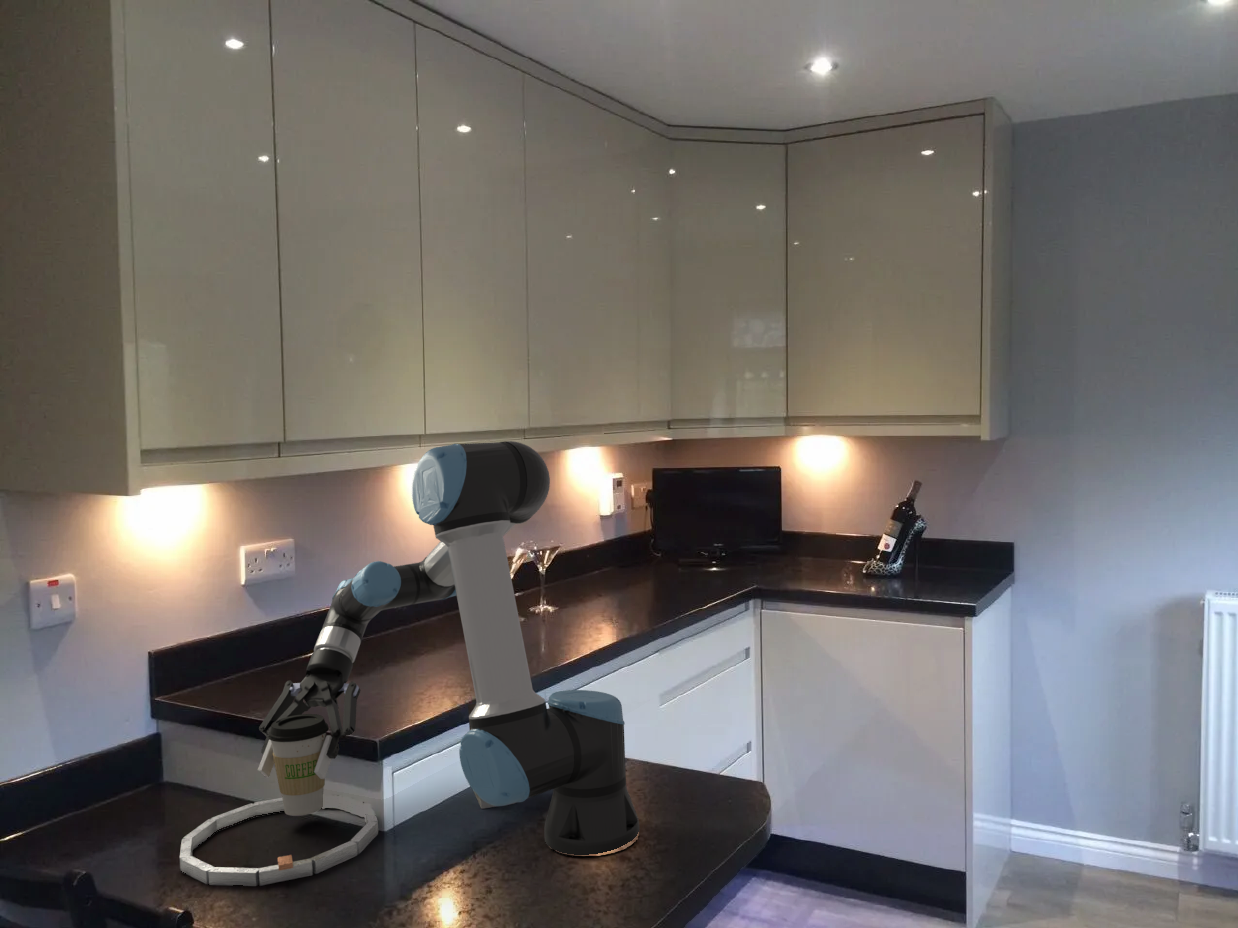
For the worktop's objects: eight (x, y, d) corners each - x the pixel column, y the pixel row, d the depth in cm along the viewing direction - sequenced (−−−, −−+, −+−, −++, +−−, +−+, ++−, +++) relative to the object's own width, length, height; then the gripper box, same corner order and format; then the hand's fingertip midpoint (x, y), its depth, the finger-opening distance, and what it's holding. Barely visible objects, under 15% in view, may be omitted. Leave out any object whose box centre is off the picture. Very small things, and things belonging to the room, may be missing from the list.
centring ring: (389, 861, 154) (388, 843, 154) (176, 904, 143) (175, 885, 143) (364, 794, 182) (363, 778, 182) (185, 825, 172) (184, 809, 171)
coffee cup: (316, 820, 164) (309, 730, 163) (261, 819, 166) (255, 730, 165) (344, 798, 174) (338, 712, 173) (292, 796, 176) (286, 712, 175)
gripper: (397, 668, 181) (361, 786, 166) (287, 668, 186) (242, 782, 172) (382, 646, 176) (342, 766, 161) (268, 646, 181) (221, 762, 166)
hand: (291, 774), depth 166 cm, fingers closed on coffee cup, 10 cm apart
